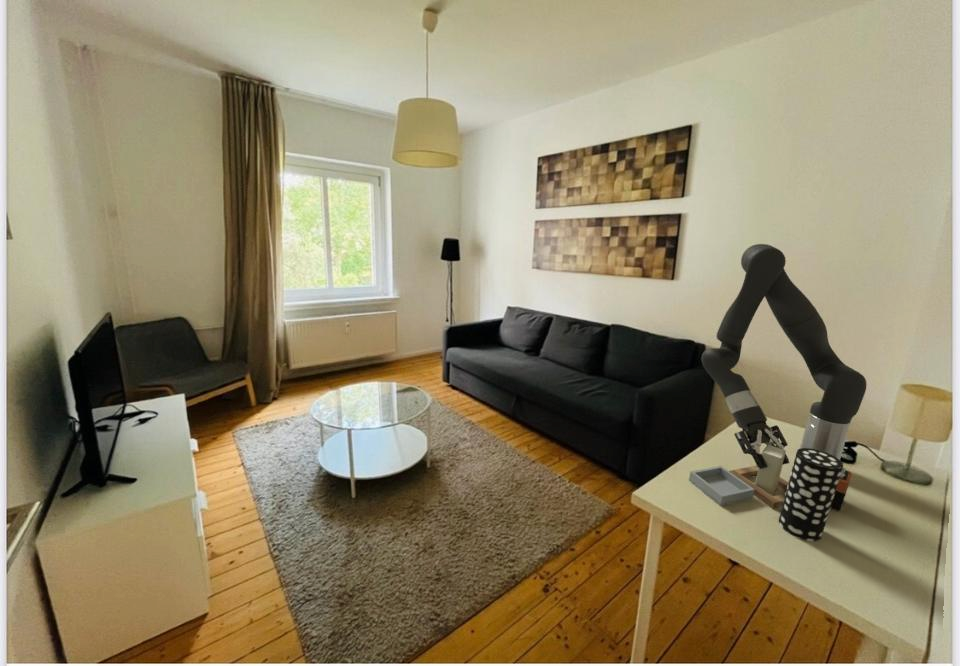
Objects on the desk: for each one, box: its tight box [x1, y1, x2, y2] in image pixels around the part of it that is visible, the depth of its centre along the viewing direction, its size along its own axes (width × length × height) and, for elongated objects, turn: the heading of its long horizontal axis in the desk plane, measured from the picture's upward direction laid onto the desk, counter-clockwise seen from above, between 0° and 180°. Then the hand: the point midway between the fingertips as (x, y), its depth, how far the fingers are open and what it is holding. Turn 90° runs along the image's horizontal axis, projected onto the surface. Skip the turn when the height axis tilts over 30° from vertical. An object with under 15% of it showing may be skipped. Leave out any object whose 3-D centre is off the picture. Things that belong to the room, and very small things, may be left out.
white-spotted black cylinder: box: [778, 447, 844, 542], centre depth 93 cm, size 8×8×20 cm
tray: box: [688, 465, 755, 507], centre depth 109 cm, size 11×11×3 cm
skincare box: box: [754, 444, 787, 496], centre depth 108 cm, size 6×4×12 cm
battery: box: [830, 467, 853, 512], centre depth 103 cm, size 4×7×10 cm, turn 132°
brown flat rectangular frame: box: [728, 464, 789, 510], centre depth 110 cm, size 12×14×2 cm
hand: (774, 466), depth 107 cm, fingers closed on skincare box, 7 cm apart
